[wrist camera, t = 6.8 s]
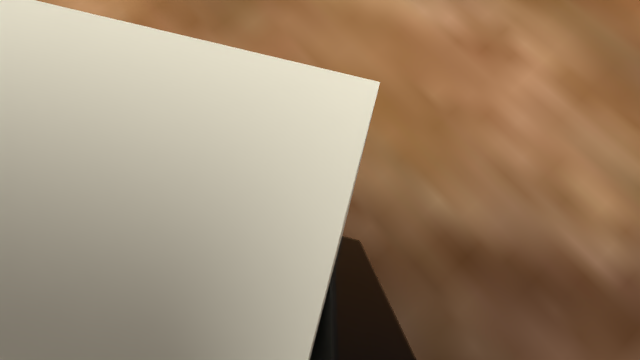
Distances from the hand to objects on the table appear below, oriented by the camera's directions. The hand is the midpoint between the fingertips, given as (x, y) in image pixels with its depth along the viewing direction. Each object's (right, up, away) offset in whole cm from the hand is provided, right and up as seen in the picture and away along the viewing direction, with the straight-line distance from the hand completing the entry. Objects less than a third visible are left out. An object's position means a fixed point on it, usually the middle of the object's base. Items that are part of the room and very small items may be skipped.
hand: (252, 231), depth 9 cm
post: (0, -3, +6) cm, 7 cm away
